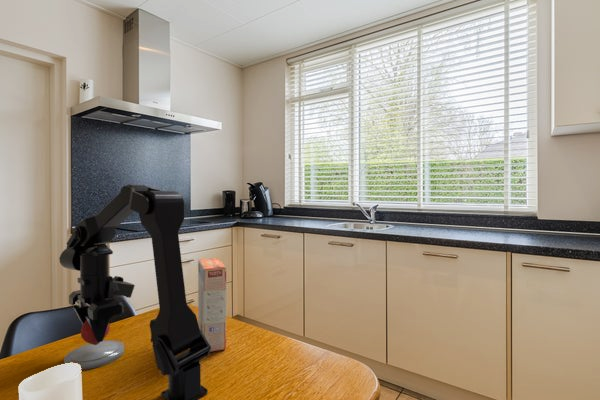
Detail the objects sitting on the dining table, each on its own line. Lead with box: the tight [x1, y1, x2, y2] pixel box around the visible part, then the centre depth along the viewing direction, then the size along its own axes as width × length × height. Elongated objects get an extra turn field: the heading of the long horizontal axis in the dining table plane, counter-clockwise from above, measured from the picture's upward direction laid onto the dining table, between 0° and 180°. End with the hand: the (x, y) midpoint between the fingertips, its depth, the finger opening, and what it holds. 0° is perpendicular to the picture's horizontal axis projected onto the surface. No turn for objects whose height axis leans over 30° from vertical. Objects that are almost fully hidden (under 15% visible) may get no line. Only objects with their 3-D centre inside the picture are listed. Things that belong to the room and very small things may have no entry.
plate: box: [63, 340, 125, 371], centre depth 76 cm, size 12×12×2 cm
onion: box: [80, 320, 111, 345], centre depth 76 cm, size 6×6×8 cm
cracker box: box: [197, 257, 227, 353], centre depth 85 cm, size 14×6×21 cm, turn 22°
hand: (95, 338), depth 76 cm, fingers closed on onion, 6 cm apart
